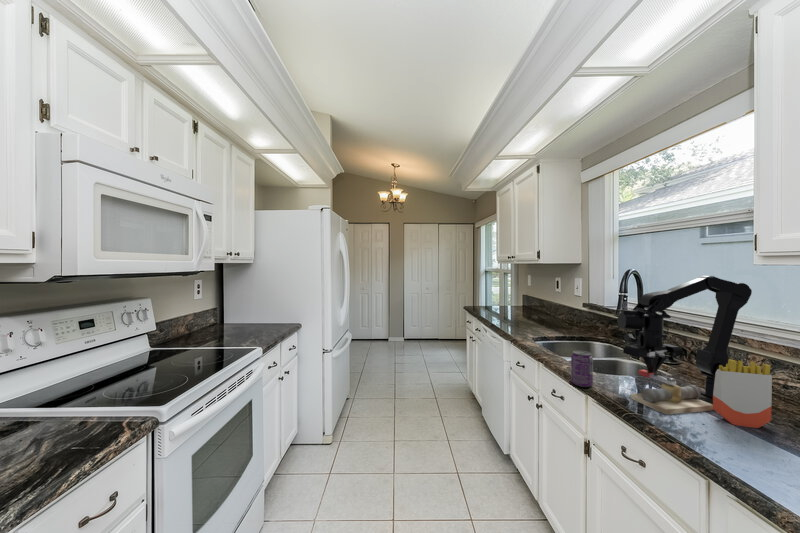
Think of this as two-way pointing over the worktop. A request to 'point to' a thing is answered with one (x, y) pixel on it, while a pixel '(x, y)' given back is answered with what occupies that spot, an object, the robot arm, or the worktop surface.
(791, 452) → the worktop surface
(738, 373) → the french fries container
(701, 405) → the valve board
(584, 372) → the beverage can
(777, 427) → the worktop surface
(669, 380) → the valve lever
